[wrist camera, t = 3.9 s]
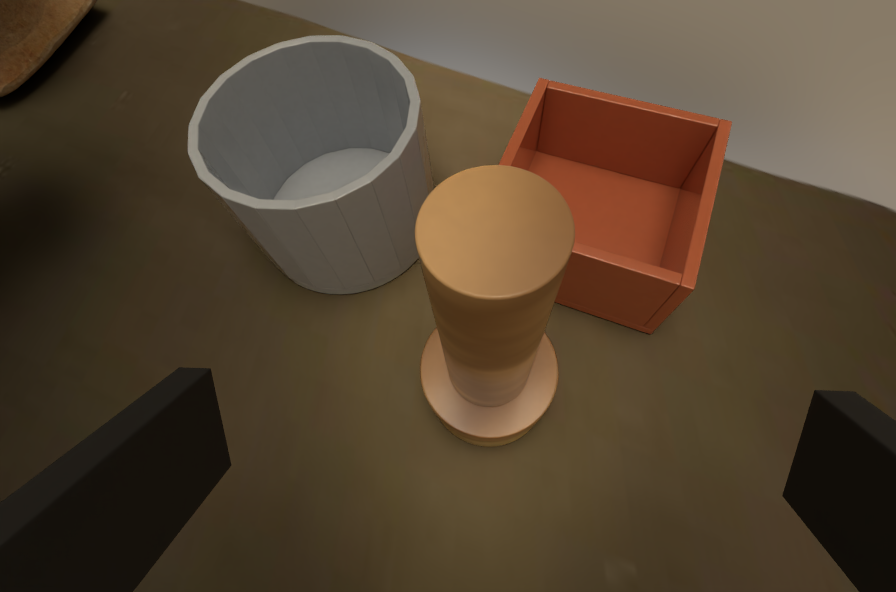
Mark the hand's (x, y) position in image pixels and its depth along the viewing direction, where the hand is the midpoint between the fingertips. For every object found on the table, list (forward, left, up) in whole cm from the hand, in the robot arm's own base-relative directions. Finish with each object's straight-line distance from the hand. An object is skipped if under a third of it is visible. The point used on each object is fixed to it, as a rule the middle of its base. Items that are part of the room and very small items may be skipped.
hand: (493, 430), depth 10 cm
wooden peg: (-2, +4, -13) cm, 14 cm away
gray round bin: (-14, +11, -13) cm, 22 cm away
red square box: (0, +15, -13) cm, 20 cm away
